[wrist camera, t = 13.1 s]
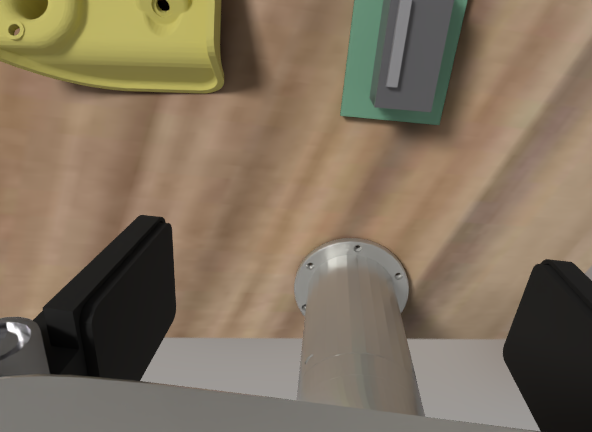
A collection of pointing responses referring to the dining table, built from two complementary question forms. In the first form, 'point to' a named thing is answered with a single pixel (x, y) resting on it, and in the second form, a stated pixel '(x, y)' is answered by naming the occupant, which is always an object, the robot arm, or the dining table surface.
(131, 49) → the plastic component
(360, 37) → the header
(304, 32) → the dining table surface
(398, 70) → the plug
